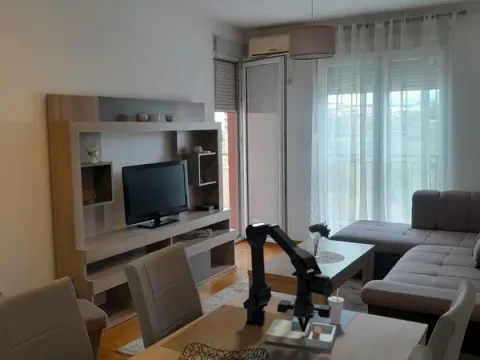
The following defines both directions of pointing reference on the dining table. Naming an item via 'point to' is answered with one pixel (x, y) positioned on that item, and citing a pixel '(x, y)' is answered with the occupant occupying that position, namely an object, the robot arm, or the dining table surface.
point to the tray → (322, 337)
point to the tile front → (317, 333)
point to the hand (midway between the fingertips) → (303, 331)
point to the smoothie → (336, 308)
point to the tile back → (296, 323)
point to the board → (287, 333)
